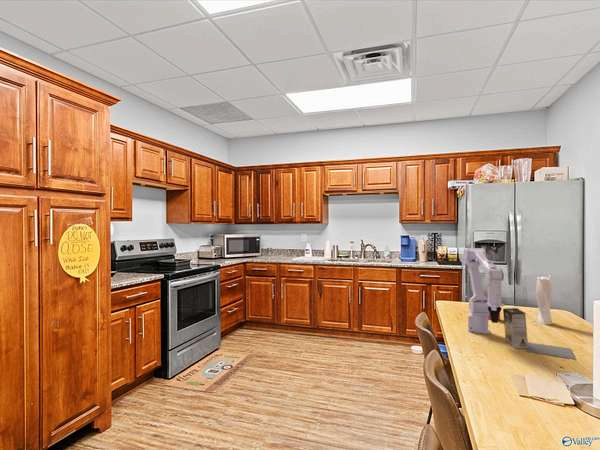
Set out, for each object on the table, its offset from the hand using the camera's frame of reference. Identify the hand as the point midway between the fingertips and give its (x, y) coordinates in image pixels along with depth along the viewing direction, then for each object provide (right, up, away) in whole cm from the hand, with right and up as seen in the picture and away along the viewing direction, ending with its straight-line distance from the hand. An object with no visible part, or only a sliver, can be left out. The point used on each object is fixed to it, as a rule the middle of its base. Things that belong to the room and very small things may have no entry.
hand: (494, 322), depth 163 cm
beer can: (+22, -9, +39) cm, 46 cm away
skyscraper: (+46, -10, +31) cm, 56 cm away
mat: (+18, -9, -11) cm, 23 cm away
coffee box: (+8, -9, -5) cm, 13 cm away
